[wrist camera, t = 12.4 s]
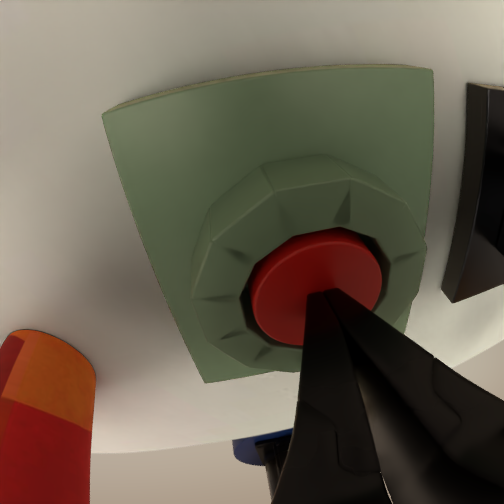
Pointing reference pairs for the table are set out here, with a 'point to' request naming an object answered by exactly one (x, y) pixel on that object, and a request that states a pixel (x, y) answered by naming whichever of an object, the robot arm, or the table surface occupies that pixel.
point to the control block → (274, 191)
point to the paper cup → (44, 420)
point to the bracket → (479, 200)
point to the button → (310, 279)
